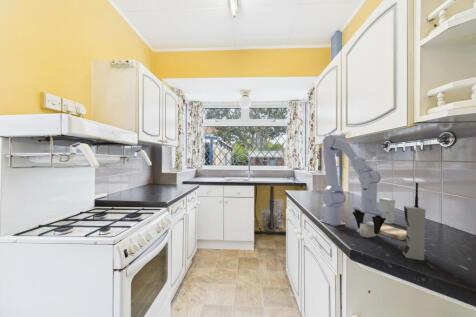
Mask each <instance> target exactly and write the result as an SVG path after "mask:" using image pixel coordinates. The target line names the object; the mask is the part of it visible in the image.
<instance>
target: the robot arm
mask: <svg viewBox="0 0 476 317" xmlns="http://www.w3.org/2000/svg"><path fill="white" fill-rule="evenodd" d="M322 147H323V151H322V154H323V155H322V156H323V162H324V163H323V164H324V170H325V171H324V172H325V180H326V187H325V188H324V189H323V191H322V192H323V193H322V194H323V195H322V201H323V203H324V204H322V206H321V212H320V219H319V221H320V222H322V223H324V224H327V225H331V226H332V227H333V226H342V225H343V226H344V225H346V223H345V222H343V221H342V212H343V210H342V209H343V206H344V204H345V203H346V194H345V193H344V190H343V188H342V187H341V186H340V184H339V177H338V169H337V168H338V167H337V163H336V162H337V160H336V154H337V153H338V152H339V151H340V150H341V152H342V153H344V155H345V156H346V157H347V158H348V160H350V165H351V167H352V168H353V170H354V171H355V172H356V174H357V175H358V181H359V183H360V187H361V198H360V200H361V202H360V203H361V204H360V206H359V205H352V215H353V217H354V218H355V222H356V225H357V229H360V223H364V218H365V215H367V214H368V215H371V218H372V222H373V223H374V234H377V235H378V234H380V233H379V232H380V229H381V226H382V224H383V225H384V224H385V223H384V221H385V220H386V218H387V213H385V212H382V211H379V209H378V208H377V206H378V205H377V204H378V202H377V201H378V183H380V181H381V174H380V173H379V171H378V170H376V169H375V170H374V169H373V167H371V166H370V165H369V164H368V163H367V161H366V159H365V157H361V156H359V155H357V153H356V152H355V150H354V149H353V147H352V146H351V145H350V143H349V139H348V138H347V137H346V136H345V135H343V134H342V135H341V134H340V135H339V134H326V135H325V137H324V138H323V140H322Z"/></svg>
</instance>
